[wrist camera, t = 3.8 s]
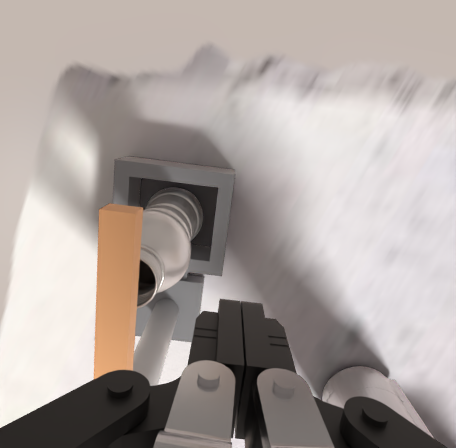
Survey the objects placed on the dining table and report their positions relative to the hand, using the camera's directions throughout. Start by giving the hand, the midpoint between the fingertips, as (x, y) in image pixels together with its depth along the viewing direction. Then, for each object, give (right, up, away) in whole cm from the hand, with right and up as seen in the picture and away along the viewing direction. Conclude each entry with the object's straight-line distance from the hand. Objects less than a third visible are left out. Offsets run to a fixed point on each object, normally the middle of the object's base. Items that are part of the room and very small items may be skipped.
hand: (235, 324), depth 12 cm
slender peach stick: (-7, -4, +9) cm, 12 cm away
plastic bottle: (-6, +5, +28) cm, 30 cm away
